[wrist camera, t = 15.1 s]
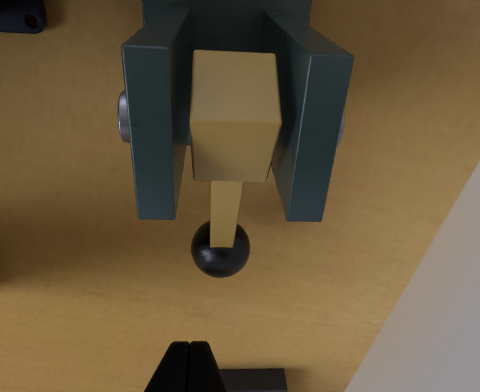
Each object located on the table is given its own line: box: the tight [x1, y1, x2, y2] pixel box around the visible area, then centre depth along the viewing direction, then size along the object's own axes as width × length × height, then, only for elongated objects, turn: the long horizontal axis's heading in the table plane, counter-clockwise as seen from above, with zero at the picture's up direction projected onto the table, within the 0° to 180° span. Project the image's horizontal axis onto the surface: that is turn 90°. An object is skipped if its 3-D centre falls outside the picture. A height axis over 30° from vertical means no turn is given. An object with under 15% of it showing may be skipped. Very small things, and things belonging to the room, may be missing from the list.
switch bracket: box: [118, 0, 354, 222], centre depth 14 cm, size 8×7×10 cm
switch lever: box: [190, 50, 282, 278], centre depth 15 cm, size 13×3×3 cm, turn 177°
